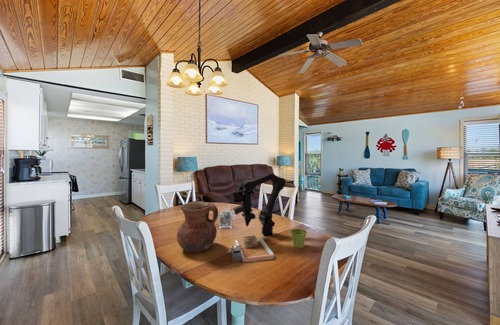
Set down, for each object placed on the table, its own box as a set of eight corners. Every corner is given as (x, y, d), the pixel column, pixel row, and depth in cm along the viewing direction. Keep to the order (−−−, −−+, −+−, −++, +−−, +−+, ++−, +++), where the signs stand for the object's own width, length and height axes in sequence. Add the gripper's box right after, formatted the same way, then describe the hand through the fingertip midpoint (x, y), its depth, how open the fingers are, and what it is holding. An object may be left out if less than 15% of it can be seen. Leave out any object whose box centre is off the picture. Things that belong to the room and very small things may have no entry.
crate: (254, 242, 130) (254, 235, 130) (257, 246, 124) (257, 239, 124) (243, 243, 128) (243, 236, 128) (245, 247, 122) (245, 240, 122)
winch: (240, 256, 112) (240, 243, 112) (242, 262, 107) (242, 248, 106) (226, 258, 110) (226, 245, 110) (228, 263, 105) (228, 250, 105)
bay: (261, 240, 132) (261, 237, 132) (274, 258, 110) (274, 254, 110) (235, 243, 129) (235, 239, 128) (242, 262, 106) (242, 258, 106)
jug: (178, 260, 109) (178, 210, 107) (175, 243, 128) (174, 201, 126) (221, 252, 117) (221, 206, 116) (212, 237, 137) (212, 198, 135)
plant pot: (297, 251, 119) (297, 235, 118) (286, 244, 127) (287, 230, 127) (310, 247, 123) (310, 232, 123) (299, 241, 131) (299, 227, 131)
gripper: (231, 198, 141) (231, 222, 142) (236, 205, 123) (236, 232, 124) (248, 197, 143) (248, 221, 144) (255, 204, 125) (255, 231, 126)
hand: (247, 226), depth 135 cm, fingers closed
